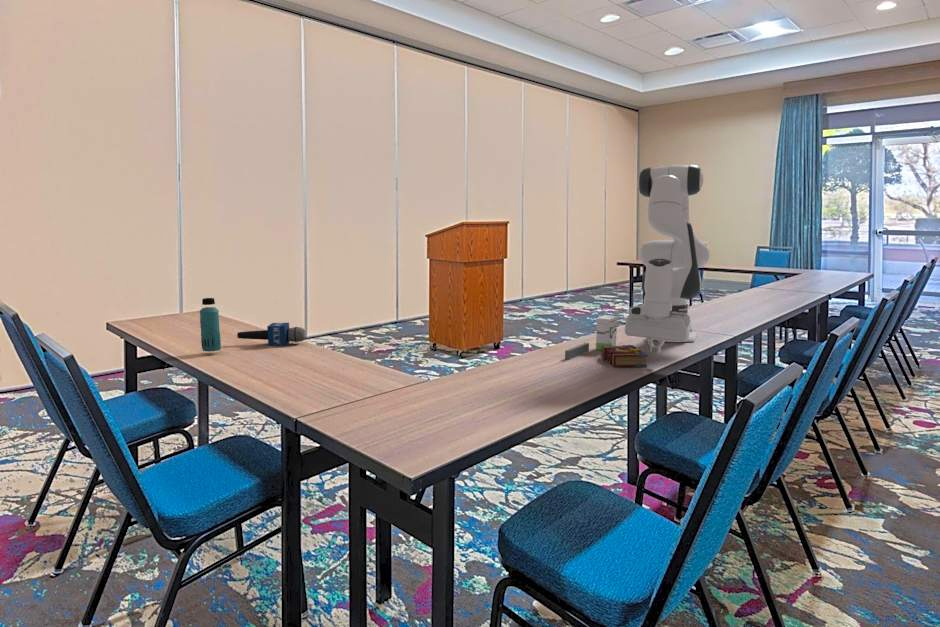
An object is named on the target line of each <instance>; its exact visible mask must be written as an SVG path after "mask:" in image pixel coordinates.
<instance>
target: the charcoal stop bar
mask: <svg viewBox="0 0 940 627" xmlns="http://www.w3.org/2000/svg"><path fill="white" fill-rule="evenodd" d="M587 351H588V352H589V351H590V343H589V342H584V343H581V344H577V345H576V346H573V347H570V348H568V349H566V350H564V360H568V359H569V360H571V358H572V359H573V357H574V358H576V357H579V356H581V355H583V354H582V353H584V354H586V353H588V352H587ZM585 352H586V353H585ZM580 354H581V355H580ZM578 355H579V356H578Z"/></svg>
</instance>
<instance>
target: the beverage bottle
mask: <svg viewBox="0 0 940 627" xmlns="http://www.w3.org/2000/svg"><path fill="white" fill-rule="evenodd" d="M201 302H202V304H201V305H202V306H203V305H204V306H206V307H203V308H201V309H200V310H199V320H200V322H199V324H200V327H199V328H200V340H201V342H200V343H201V349H202V350H201V351H203V352H207V353H208V352H209V353H210V352H218V351H220V350H221V348H222V346H221V343H222V342H221V333H220V331H221V330H220V329H221V328H220V314H219V309H218V308H217V307H215V306H211V305H215V304H216V302H215V298H213V297H205V298H202V301H201ZM207 305H208V306H209V305H210V306H209V307H208V306H207Z"/></svg>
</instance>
